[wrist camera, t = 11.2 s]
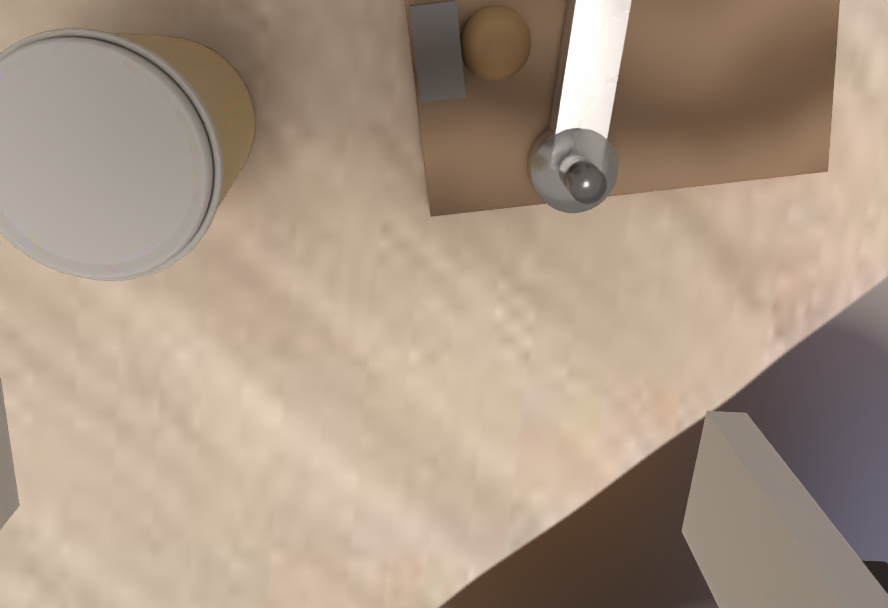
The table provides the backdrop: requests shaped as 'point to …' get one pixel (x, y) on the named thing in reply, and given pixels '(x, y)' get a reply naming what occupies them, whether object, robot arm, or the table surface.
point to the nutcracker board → (624, 94)
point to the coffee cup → (116, 148)
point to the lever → (582, 109)
